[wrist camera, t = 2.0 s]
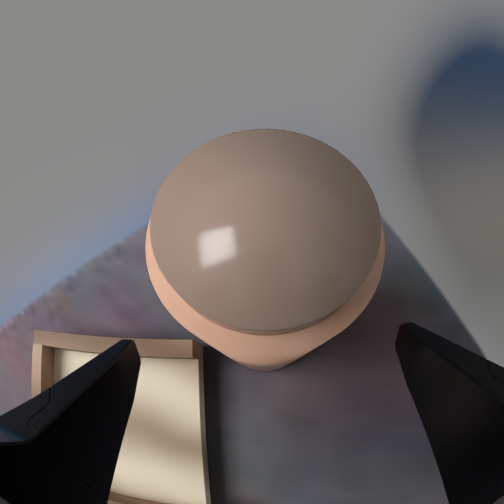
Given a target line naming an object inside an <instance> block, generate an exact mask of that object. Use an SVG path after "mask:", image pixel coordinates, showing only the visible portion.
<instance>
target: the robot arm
mask: <svg viewBox="0 0 504 504" xmlns="http://www.w3.org/2000/svg"><path fill="white" fill-rule="evenodd" d="M395 348H396V352H397V355H398V358H399V361H400V364H401V367H402V371H403V374H404V377H405V380H406V383H407V386H408V388H409V391H410V393H411V396H412V398H413V400H414V403H415V405H416V408H417V410H418V413H419V415H420V418H421V420H422V423H423V426H424V428H425V431H426V433H427V436H428V439H429V442H430V444H431V447H432V450H433V453H434V456H435V459H436V462H437V465H438V468H439V471H440V474H441V477H442V479H443V480H442V481H443V484H444V488H445V491H446V494H447V498H448V501H449V504H504V368H503V367H501V366H499V365H497V364H495V363H493V362H491V361H489V360H486V359H485V358H483V357H481V356H479V355H477V354H475V353H473V352H471V351H469V350H467V349H465V348H463V347H461V346H459V345H457V344H455V343H453V342H451V341H449V340H447V339H445V338H443V337H441V336H439V335H437V334H435V333H433V332H431V331H429V330H427V329H425V328H423V327H420V326H418V325H416V324H414V323H412V322H408V323H403V324H401V325H400V327H399V331H398V335H397V338H396V342H395ZM140 366H141V358H140V355H139V352H138V349H137V347H136V344H135V342H134V340H132V339H122V340H120V341H119V342H117V343H116V344H114V345H113V346H111V347H110V348H108V349H107V350H105V351H104V352H102V353H100V354H99V355H97V356H96V357H94V358H93V359H91V360H90V361H88V362H87V363H85V364H84V365H82V366H81V367H79V368H78V369H76V370H75V371H73V372H72V373H70V374H69V375H67V376H66V377H64V378H63V379H61V380H60V381H58V382H57V383H55V384H54V385H52V386H51V387H49V388H47V389H46V390H44V391H43V392H41V393H40V394H38V395H37V396H35V397H33V398H32V399H30V400H28V401H27V402H25V403H23V404H21V405H19V406H18V407H16V408H14V409H12V410H10V411H8V412H6V413H4V414H3V415H1V416H0V504H108V499H109V494H110V490H111V485H112V481H113V477H114V473H115V469H116V464H117V460H118V457H119V453H120V449H121V445H122V441H123V438H124V434H125V430H126V427H127V423H128V420H129V416H130V413H131V409H132V406H133V402H134V398H135V393H136V387H137V382H138V376H139V371H140Z"/></svg>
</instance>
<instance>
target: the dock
mask: <svg viewBox="0 0 504 504" xmlns="http://www.w3.org/2000/svg"><path fill="white" fill-rule="evenodd" d="M122 339H132V340H134V342H135V344H136V347H137V349H138V352H139V355H140V358H141V366H140V371H139V376H138V382H137V387H136V393H135V398H134V402H133V406H132V409H131V413H130V416H129V420H128V423H127V427H126V430H125V434H124V438H123V441H122V445H121V449H120V453H119V457H118V460H117V464H116V469H115V473H114V477H113V481H112V485H111V490H110V494H109V499H108V504H211V497H210V486H209V474H208V460H207V445H206V426H205V404H204V371H203V346H202V345H201V344H199V343H197V342H195V341H194V340H169V339H135V338H115V337H100V336H88V335H76V334H66V333H57V332H49V331H41V330H34V340H33V354H32V398H33V397H35V396H37V395H38V394H40V393H41V392H43V391H44V390H46V389H47V388H49V387H51V386H52V385H54V384H55V383H57V382H58V381H60V380H61V379H63V378H64V377H66V376H67V375H69V374H70V373H72V372H73V371H75V370H76V369H78V368H79V367H81V366H82V365H84V364H85V363H87V362H88V361H90V360H91V359H93V358H94V357H96V356H97V355H99V354H100V353H102V352H104V351H105V350H107V349H108V348H110V347H111V346H113V345H114V344H116V343H117V342H119V341H120V340H122Z"/></svg>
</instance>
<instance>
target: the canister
mask: <svg viewBox="0 0 504 504" xmlns="http://www.w3.org/2000/svg"><path fill="white" fill-rule="evenodd" d="M384 258H385V238H384V231H383V227H382V222H381V219H380V213H379V209H378V204H377V201H376V199H375V196H374V194H373V191H372V189H371V188H370V186H369V184H368V182H367V181H366V179H365V178H364V177H363V175H362V174H361V172H360V171H359V170H358V169H357V168H356V167H355V165H354V164H352V162H351V161H349V160H348V159H347V158H346V157H345V156H344V155H342V154H341V153H340V152H338V151H337V150H335V149H334V148H332V147H331V146H329V145H327V144H325V143H323V142H321V141H319V140H317V139H314V138H312V137H310V136H307V135H303V134H300V133H296V132H291V131H286V130H278V129H253V130H244V131H239V132H234V133H231V134H227V135H224V136H221V137H218V138H216V139H214V140H211V141H209V142H207V143H205V144H203V145H202V146H200V147H198V148H197V149H195V150H194V151H192V152H191V153H189V154H188V155H187V156H186V157H185V158H183V159H182V160H181V161H180V162H179V163H178V164H177V165H176V166H175V167H174V168H173V170H172V171H171V172H170V173H169V175H168V176H167V177H166V179H165V180H164V182H163V184H162V185H161V187H160V189H159V191H158V193H157V196H156V199H155V201H154V204H153V208H152V213H151V218H150V221H149V225H148V230H147V235H146V261H147V267H148V271H149V275H150V279H151V281H152V284H153V286H154V289H155V291H156V293H157V295H158V296H159V298H160V300H161V301H162V303H163V305H164V306H165V307H166V309H167V310H168V311H169V312H170V313H171V315H172V316H173V317H174V318H175V319H176V320H177V321H178V322H179V323H180V324H181V325H182V326H184V327H185V328H186V329H187V330H188V331H190V332H191V333H193V334H194V335H196V336H197V337H199V338H200V339H202V340H203V341H204V342H206V343H207V344H209V345H210V346H212V347H214V348H215V349H217V350H218V351H220V352H221V353H223V354H224V355H226V356H227V357H229V358H231V359H232V360H234V361H235V362H237V363H239V364H240V365H242V366H244V367H246V368H248V369H251V370H255V371H263V372H267V371H274V370H278V369H280V368H283V367H285V366H287V365H288V364H290V363H292V362H293V361H295V360H297V359H299V358H300V357H302V356H304V355H305V354H307V353H309V352H310V351H312V350H313V349H315V348H317V347H318V346H320V345H321V344H323V343H325V342H326V341H328V340H329V339H331V338H332V337H334V336H336V335H337V334H339V333H340V332H342V331H343V330H344V329H345V328H347V327H348V326H349V325H350V324H351V323H352V322H353V321H354V320H356V318H357V317H358V316H359V315H360V314H361V312H362V311H363V310H364V309H365V308H366V306H367V305H368V303H369V301H370V300H371V298H372V296H373V295H374V293H375V291H376V288H377V286H378V284H379V281H380V279H381V275H382V270H383V266H384Z"/></svg>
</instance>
